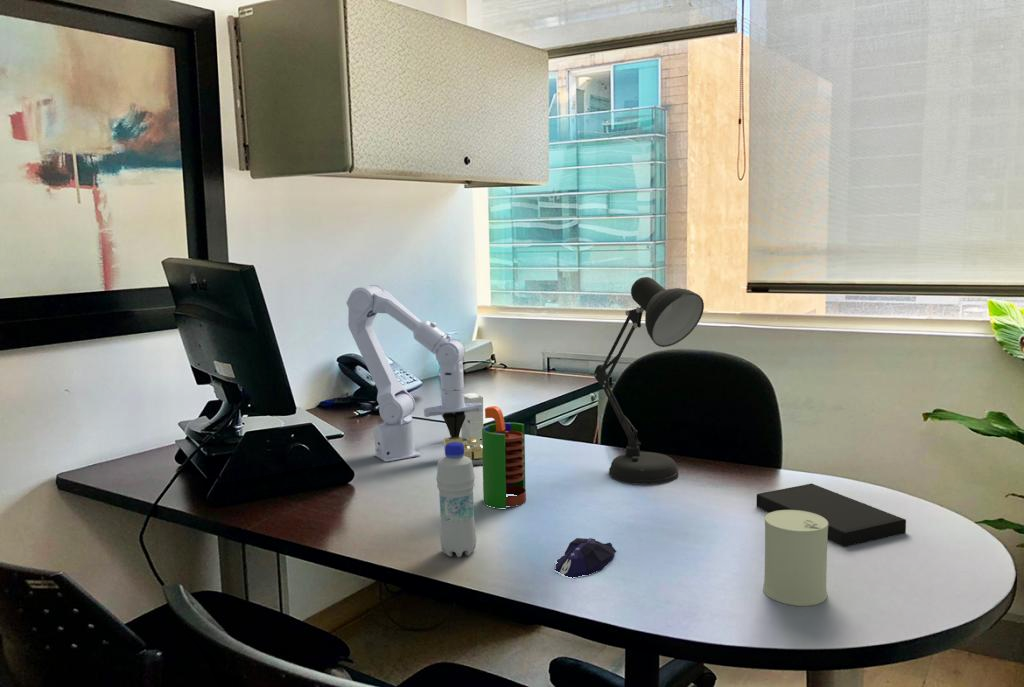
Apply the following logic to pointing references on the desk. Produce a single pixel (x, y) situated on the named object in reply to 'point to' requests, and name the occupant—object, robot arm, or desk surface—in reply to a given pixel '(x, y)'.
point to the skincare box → (472, 418)
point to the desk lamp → (666, 326)
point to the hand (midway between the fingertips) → (454, 442)
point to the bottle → (456, 501)
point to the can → (795, 557)
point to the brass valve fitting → (469, 453)
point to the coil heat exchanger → (503, 461)
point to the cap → (474, 461)
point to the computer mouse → (585, 557)
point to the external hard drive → (835, 513)
